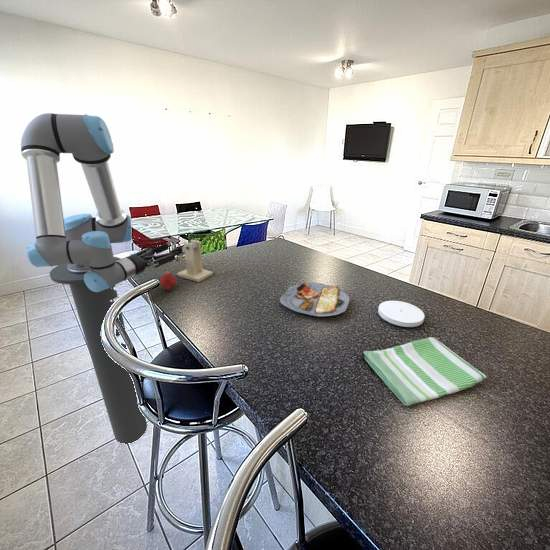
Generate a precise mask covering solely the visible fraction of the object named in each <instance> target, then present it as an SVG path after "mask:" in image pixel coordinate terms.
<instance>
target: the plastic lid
mask: <svg viewBox="0 0 550 550" xmlns="http://www.w3.org/2000/svg"><path fill="white" fill-rule="evenodd" d="M377 314H378V315H379V317H381V318H382V319H383V320H384V321H386V322H388V323H390V324H392V325H395V326H399V327H403V328H405V327H406V328H415V327H419V326H421V325H422V324H423V323H424V321H425V313H424V311H423V310H422V309H421V308H419V307H418V306H416V305H414V304H411V303H409V302H405V301H401V300H386V301H383V302H380V303H379V304H378V309H377Z"/></svg>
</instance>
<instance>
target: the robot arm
mask: <svg viewBox="0 0 550 550" xmlns="http://www.w3.org/2000/svg"><path fill="white" fill-rule="evenodd" d="M20 141H21V142H20V150H21V151H20V152H21V156H22V158H24V159H25V160H26V166H27V167H26V168H27V175H28V183H29V193H30V200H31V206H32V216H33V217H32V218H33V225H34V234H35V241H36V242H34V243H32V242H31V243H29V244H28V246H27V250H26V255H27V258H28V261H29V262H30V264H31V265H32V266H34V267H36V268H43V267H51V268H53V267H57V266H58V265H67V264H68V265H67V267H68V271H69V272H71V273H75V274H84V273H85V274H84V282H85V284H86V286H87V287H88V288H89V289H90V290H91V291H94V292H100V291H103V290H105V289H109V288H110V287H112V286H114V285H115V286H116V285H118V284H121V283H122V282H124V281H127V280H129V279H131V278H133V277H135V276H138V275H140V274H142V273H144V272H145V270H146V268H148V267H151V266H153V268H155V269H157V268H159V267H160V266H163V265H165V264H168V263H171V262H173V261H176V260H175V256H177V255H179V254H181V253H182V252H183V251H184V250H183V246H178V247H176V248H173V249H172V250H169V243H168V242H165V243H163V244H161V245H159V246H156V247H155V246H154V245H151V246H150V247H146V248H144V249H142V250H140V251H137V252H135V253H132V254H130V255H127V256H125V257H122V258H120V260H117V261H114V257H115V256H114V251H113V247H112V244H122V243H128V242H131V241H132V239H133V234H132V233H133V232H132V216H131V215H128V214H127V213H126V211H124V210H123V209H121V205H120V202H119V198H118V195H117V191H116V186H115V183H114V179H113V176H112V172H111V169H110V165H109V161H110V159H111V158H112V156H111V155H112V154H114V151H115V150H114V143H113V139H112V136H111V133H110V130H109V128H108V126H107V124H106V122H105V120H104V119H103V118H102V117H101V116H97V115H89V114H69V113H68V114H67V113H53V112H48V113H47V112H45V113H42V114H39V115H37V116H35V117H34V118H32V119H31V120H30V122H28V124H27V125H26V126H25V129H24V131H23V133H22V135H21V140H20ZM61 154H71V155H72V158H73V160H74V161H75V162H77V163H79V164H80V166H81V168H82V171H83V174H84V177H85V180H86V182H87V185H88V188H89V191H90V194H91V197H92V199H93V202H94V206H95V209H96V211H97V213H96V214H95V217H93V215H92V214H91V213H79V214H75V215H71V216H67V217H65V218H64V212H63V202H62V195H61V185H60V178H59V170H58V163H59V162H60V161H61V157H60V155H61ZM168 250H169V252H166V251H168ZM164 252H165V253H164ZM155 254H156V255H155Z"/></svg>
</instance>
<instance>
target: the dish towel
mask: <svg viewBox="0 0 550 550" xmlns="http://www.w3.org/2000/svg"><path fill="white" fill-rule="evenodd" d="M362 352H363V354H364V355H365V356H364V360H365V362H366V363H368V365H369V366H370V368H371V369H373V371H374V372H375V374H377V376H378V377H379V378H380V379H381V380H382V381H383V383H384V384H385V385H386V386H387V387H388V388H389V389H390V391H391V392H392V393H393V394H394V395H395V396H396V397H397V399H398V400H399V401H400V402H401V403H402V404H403V405H404V406H405V407H410V406H412V405H416V404H419V403H423V402H427V401H431V400H436V399H440V398H442V397H445V396H447V395H452V394H455V393H458V392H461V391H464V390H466V389H470V388H473V387H474V386H476V385H478V384H479V383H481V382H483V381H484V380H486V379H487V375H486V374H484V373H483V372H482V371H481V370H479V369H477V368H475V367H474V366H473V365H472V364H470V363H469V362H468V361H466V360H465V359H463V358H462V357H461V356H460V355H458V354H457V353H456V352H454V351H453V350H452V349H450V348H449V347H448V346H446V345H445V344H444V343H443V342H441V341H439V339H438V338H436V337H434V336H433V337H432V336H431V337H425V338H421V339H417V340H413V341H410V342H407V343H404V344H401V345H395V346H392V347H389V348H386V349H378V350H365V351H362Z"/></svg>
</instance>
